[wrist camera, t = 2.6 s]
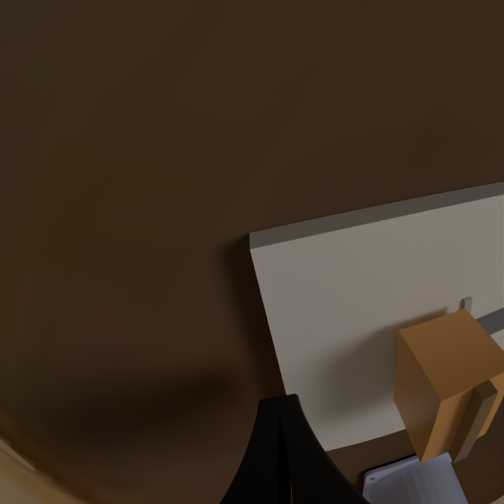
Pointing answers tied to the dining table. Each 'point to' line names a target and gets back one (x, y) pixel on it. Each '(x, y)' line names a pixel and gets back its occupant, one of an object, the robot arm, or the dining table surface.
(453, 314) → the fader tab
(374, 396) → the fader console
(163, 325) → the dining table surface
